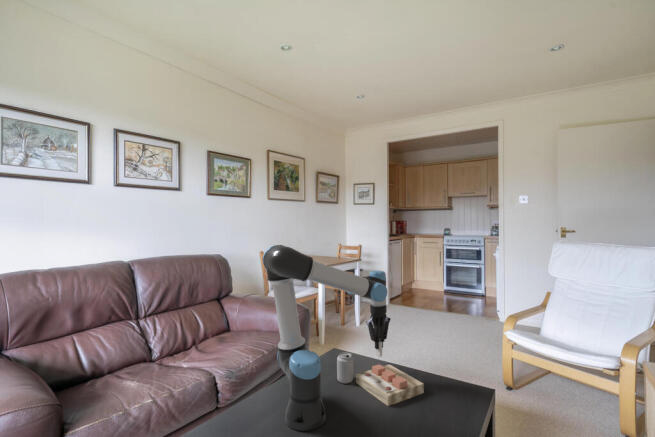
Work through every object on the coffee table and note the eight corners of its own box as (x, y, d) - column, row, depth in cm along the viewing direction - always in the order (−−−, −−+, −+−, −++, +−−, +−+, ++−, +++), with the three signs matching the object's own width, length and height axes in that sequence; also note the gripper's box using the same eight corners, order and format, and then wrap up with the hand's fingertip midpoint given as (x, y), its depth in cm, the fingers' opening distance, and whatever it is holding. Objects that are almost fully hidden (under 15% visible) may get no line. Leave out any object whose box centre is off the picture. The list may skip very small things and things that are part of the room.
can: (353, 384, 147) (353, 358, 147) (337, 384, 147) (337, 357, 147) (352, 376, 155) (352, 351, 155) (337, 376, 155) (336, 351, 155)
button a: (399, 392, 135) (399, 383, 135) (392, 387, 139) (392, 378, 139) (407, 389, 137) (407, 380, 137) (400, 384, 141) (399, 376, 141)
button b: (388, 384, 141) (388, 376, 141) (381, 380, 145) (381, 372, 145) (395, 382, 143) (395, 373, 143) (389, 378, 147) (389, 370, 147)
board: (387, 406, 130) (387, 394, 130) (356, 383, 149) (356, 373, 149) (423, 392, 140) (423, 382, 140) (389, 372, 159) (389, 363, 159)
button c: (378, 378, 147) (377, 370, 147) (372, 374, 151) (371, 366, 151) (385, 375, 149) (385, 367, 149) (379, 372, 153) (379, 364, 153)
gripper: (372, 308, 144) (373, 361, 144) (394, 304, 151) (395, 355, 150) (362, 304, 151) (362, 355, 150) (383, 300, 157) (384, 349, 157)
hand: (379, 355), depth 150 cm, fingers closed
